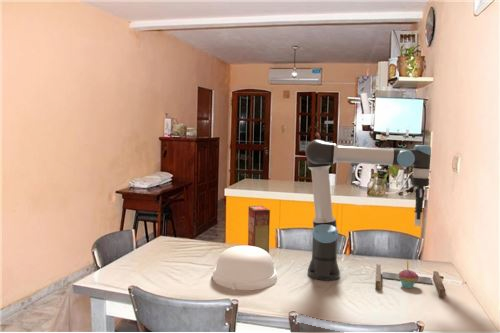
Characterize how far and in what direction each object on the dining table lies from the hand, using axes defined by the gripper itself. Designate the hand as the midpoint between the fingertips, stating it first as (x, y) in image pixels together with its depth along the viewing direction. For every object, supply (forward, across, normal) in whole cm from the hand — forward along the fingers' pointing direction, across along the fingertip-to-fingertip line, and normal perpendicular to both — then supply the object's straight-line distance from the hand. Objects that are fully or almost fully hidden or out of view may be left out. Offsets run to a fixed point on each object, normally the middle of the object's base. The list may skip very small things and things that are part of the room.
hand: (417, 225), depth 204 cm
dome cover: (+25, -35, +76) cm, 87 cm away
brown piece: (+24, -16, +4) cm, 29 cm away
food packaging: (+25, +7, +82) cm, 86 cm away
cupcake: (+25, -18, +4) cm, 31 cm away
